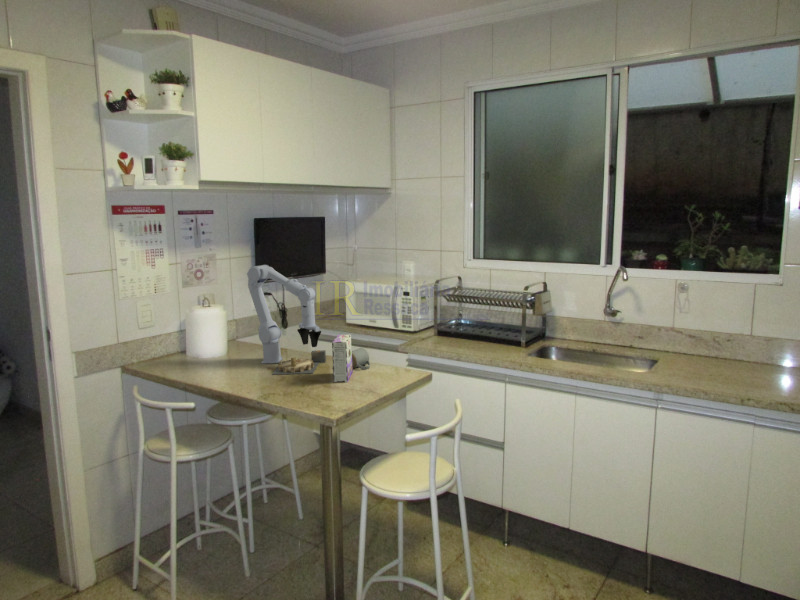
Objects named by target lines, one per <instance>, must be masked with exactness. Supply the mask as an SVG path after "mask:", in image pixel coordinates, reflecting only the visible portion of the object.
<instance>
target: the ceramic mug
mask: <svg viewBox="0 0 800 600" xmlns="http://www.w3.org/2000/svg"><path fill="white" fill-rule="evenodd" d="M370 367H371V362H370V355H369V351H367V349H365V348H364V347H359V348H357V349H354V350H352V368H353V369H357V368H358V369H360V370H369V369H370Z"/></svg>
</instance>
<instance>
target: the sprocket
mask: <svg viewBox="0 0 800 600" xmlns="http://www.w3.org/2000/svg"><path fill="white" fill-rule="evenodd" d="M277 364H278V366H279V371H283V372H291V373H294V372H299V371H300V372H303V371H305V370H311V368H314V362H313V361H312V359H311V360H309V359H308V358H305V359H302V358H296V357H291V358H290V359H289V360H282V361H281V363H280V362H279V363H277ZM278 366H277V367H278Z"/></svg>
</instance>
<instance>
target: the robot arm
mask: <svg viewBox="0 0 800 600" xmlns="http://www.w3.org/2000/svg"><path fill="white" fill-rule="evenodd" d="M246 275H247V278H248V279H247V280H248V282H247V287H248V290H249V294H250V296H251V299H252V303H253V305H254V308H255V312H256V314H257V318H258V321H259V325H258V328H257V329H258V330H257V331H258V338H259V340H260V342H261V345H262V353H263V354H262V355H263V357H262V358H263V360H262V361H261V362H260V364H279V363H280V362H282V361H283V359H284V356H282V354H281V351H282V350H281V344H280V338H281V337H282V330H281V329H280V328H279V326H278V324H277V322H276V321H274V320H273V318H272V315H271V312H270V308H269V306H268V303H267V300H266V297H265V294H264V291H263V289H262V287H263V285H264V283H265V282H266V281H267V280H269V279H270V280H272V281H275V282H276V283H277V284H281V285H282V286H284V287H285V290H286V291H288V292H289V293H291V294H293V295H294V296H296V297H297V298H298V300H299V302H300V307H301V309H300V310H301V312H300V313H301V322H299V323H298V328H297V330H296V331H297V332H298V334H299V336H300V339H301V343H302V345H303V346H305V345H308V344H309V339H310V344H311V347H312V348H316V347H317V346H318V343H319V342H318V341H319V338H320V335H321V334H322V330H320V328H321V327H320V326H318V325H317V324H316V312H315V299H316V297H317V292H316V290H315V288H313V287H312V286H307V285H306V284H302V283H301V282H299V280H298V279H296V278H291V279H289V278H288V277H286V276H284V275H283V274H281V273H280V272H278V271H276V269H274V268H273V267H272V266H269V264H261V265H255V266H254V265H253V266H251V267H250V268H249V269H248V271H247V273H246Z"/></svg>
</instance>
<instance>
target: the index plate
mask: <svg viewBox="0 0 800 600" xmlns="http://www.w3.org/2000/svg"><path fill="white" fill-rule="evenodd" d="M319 365H320V363H319V362H317V363H314V368H311V370H305V371H303V372H300V371H299V372H294V373H291V372H283V371H279V366H277V367H276V369H275V370H274V371H273V372H272V373H271V375H272V376H280V375H283V376H284V375H286V376H287V375H312V374H314V373H315V371H316V370H317V367H318V366H319Z"/></svg>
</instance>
